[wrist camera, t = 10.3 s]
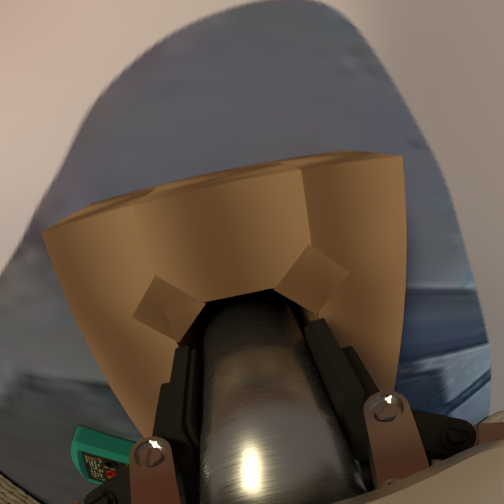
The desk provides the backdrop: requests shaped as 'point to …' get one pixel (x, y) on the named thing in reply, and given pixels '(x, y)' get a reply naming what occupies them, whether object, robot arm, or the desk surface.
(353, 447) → the robot arm
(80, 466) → the digital multimeter
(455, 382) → the desk surface
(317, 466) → the cylinder
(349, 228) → the bore block
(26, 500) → the storage basket
